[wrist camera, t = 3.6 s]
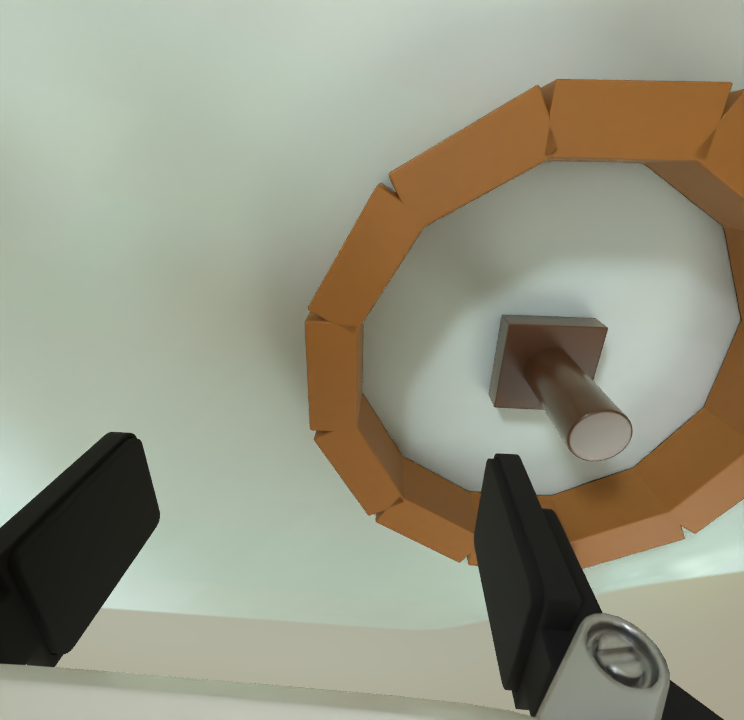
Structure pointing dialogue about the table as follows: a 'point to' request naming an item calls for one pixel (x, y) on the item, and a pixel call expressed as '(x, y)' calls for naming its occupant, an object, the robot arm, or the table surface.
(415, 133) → the table surface
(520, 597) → the robot arm
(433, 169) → the orange-brown ring
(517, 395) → the spindle
